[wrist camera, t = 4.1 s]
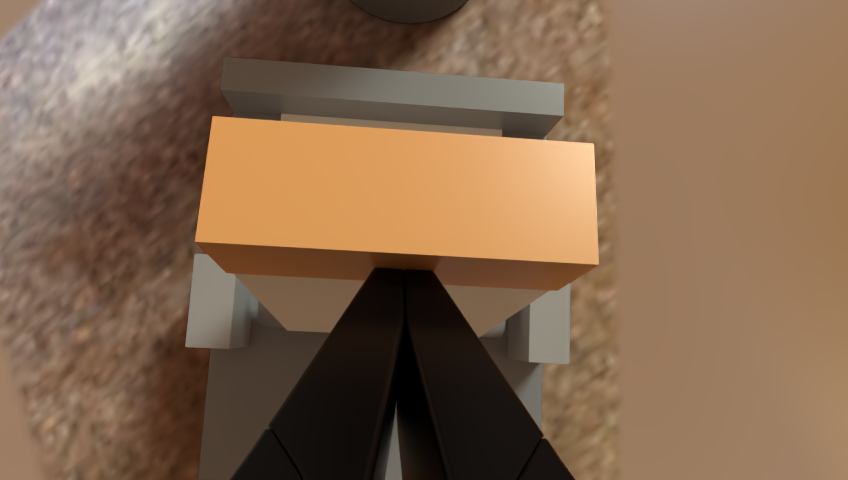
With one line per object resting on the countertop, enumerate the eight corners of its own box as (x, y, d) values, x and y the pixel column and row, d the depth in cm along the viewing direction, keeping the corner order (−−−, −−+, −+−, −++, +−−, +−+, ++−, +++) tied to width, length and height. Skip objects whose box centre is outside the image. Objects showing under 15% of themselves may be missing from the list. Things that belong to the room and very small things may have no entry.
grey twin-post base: (530, 479, 20) (567, 514, 16) (208, 470, 19) (169, 503, 15) (537, 117, 22) (572, 72, 18) (243, 95, 21) (216, 44, 17)
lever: (496, 348, 18) (662, 268, 8) (262, 337, 18) (123, 237, 8) (497, 292, 19) (654, 147, 9) (268, 279, 18) (145, 110, 8)
